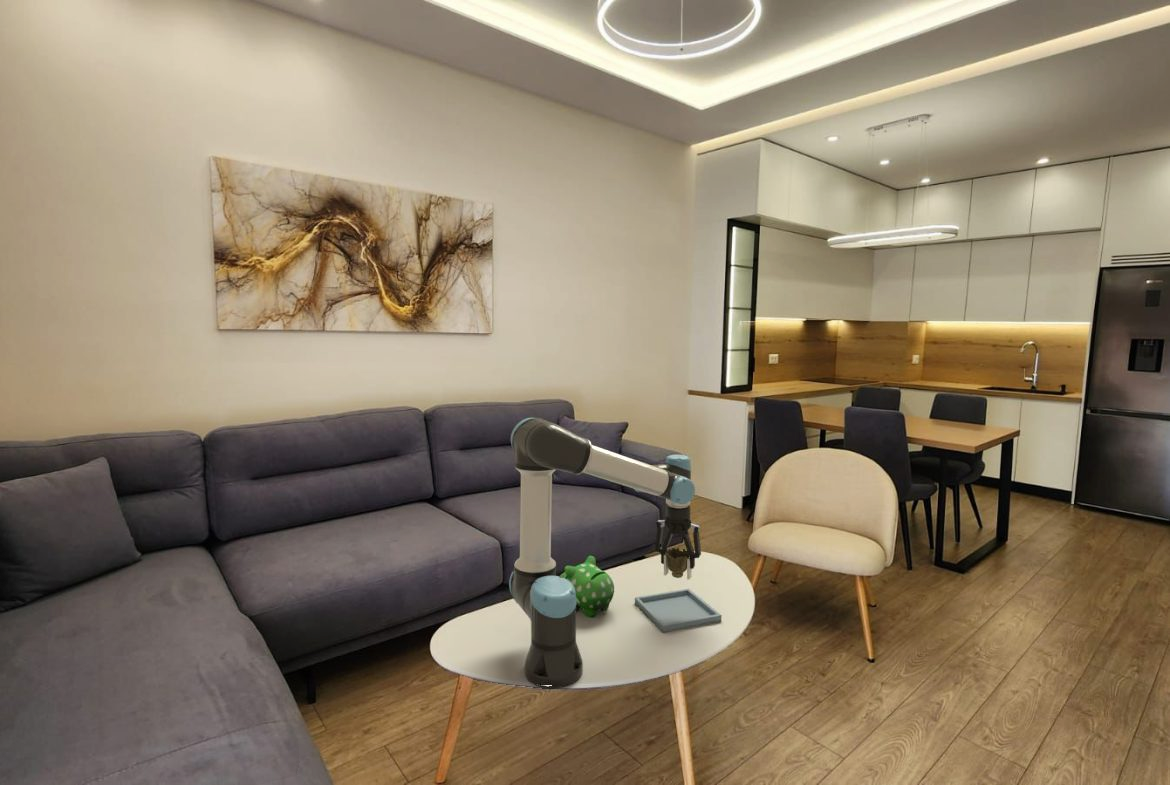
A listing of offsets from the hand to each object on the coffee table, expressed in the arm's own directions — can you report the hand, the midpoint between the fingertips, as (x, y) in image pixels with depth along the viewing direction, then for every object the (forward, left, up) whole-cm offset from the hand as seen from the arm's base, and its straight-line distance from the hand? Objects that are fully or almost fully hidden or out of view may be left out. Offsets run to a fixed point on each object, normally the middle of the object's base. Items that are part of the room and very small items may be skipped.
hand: (677, 575), depth 182 cm
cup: (0, 0, 0) cm, 0 cm away
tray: (0, 0, -12) cm, 12 cm away
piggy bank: (-26, +12, -12) cm, 31 cm away
